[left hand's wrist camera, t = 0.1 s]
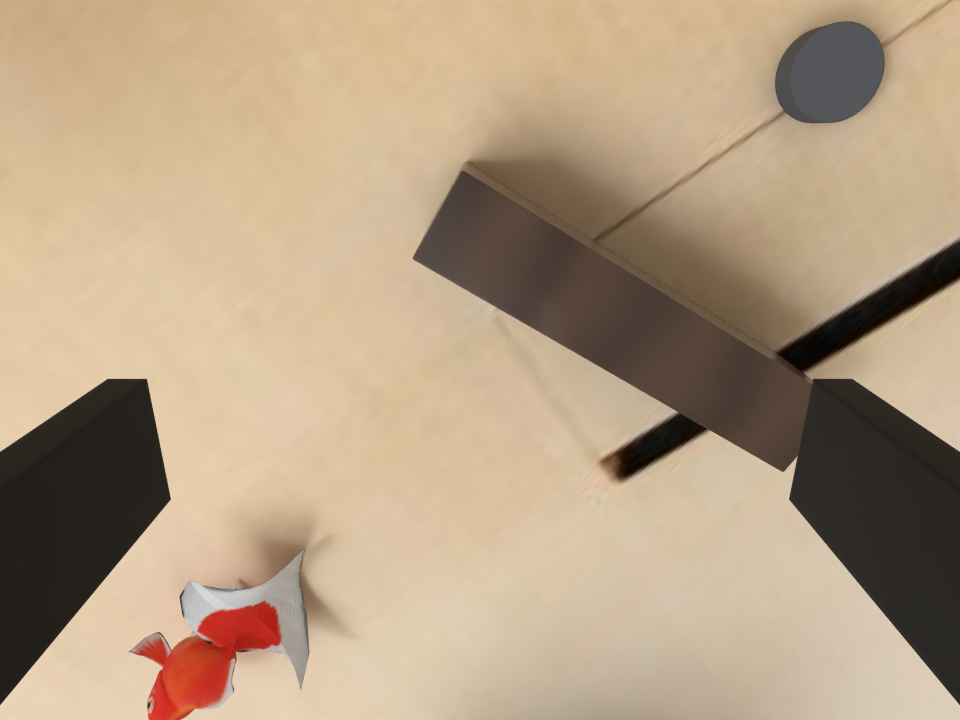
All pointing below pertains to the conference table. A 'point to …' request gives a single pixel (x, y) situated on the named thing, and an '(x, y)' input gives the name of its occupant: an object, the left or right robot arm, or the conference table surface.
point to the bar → (616, 316)
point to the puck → (830, 73)
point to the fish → (226, 641)
